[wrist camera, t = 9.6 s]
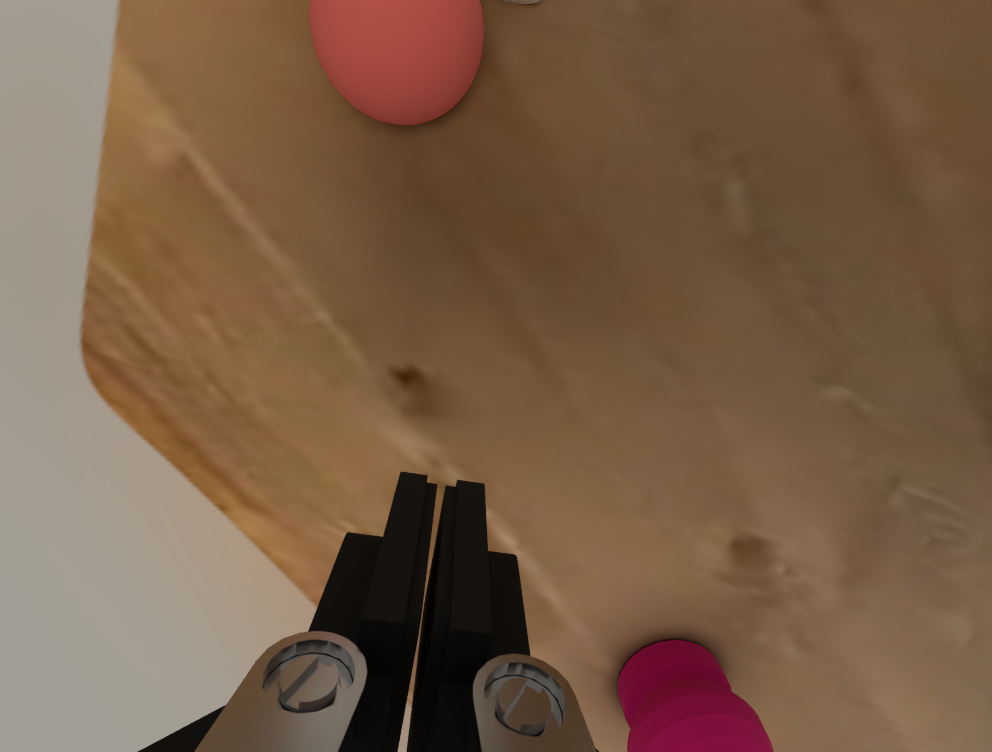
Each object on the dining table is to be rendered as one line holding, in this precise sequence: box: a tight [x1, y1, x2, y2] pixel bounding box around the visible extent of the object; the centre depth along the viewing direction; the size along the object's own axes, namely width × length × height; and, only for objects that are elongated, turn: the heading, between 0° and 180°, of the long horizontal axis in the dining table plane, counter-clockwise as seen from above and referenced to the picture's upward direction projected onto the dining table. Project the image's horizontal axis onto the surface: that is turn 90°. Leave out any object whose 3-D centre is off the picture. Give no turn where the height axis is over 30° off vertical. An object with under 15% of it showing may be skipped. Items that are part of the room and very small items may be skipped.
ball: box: [309, 0, 484, 125], centre depth 19 cm, size 6×6×6 cm
